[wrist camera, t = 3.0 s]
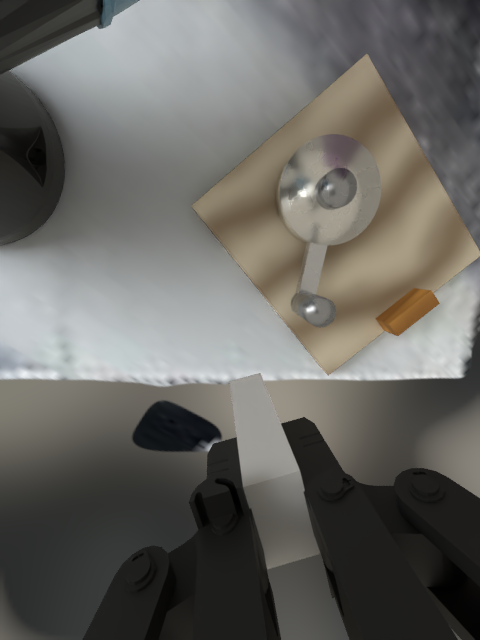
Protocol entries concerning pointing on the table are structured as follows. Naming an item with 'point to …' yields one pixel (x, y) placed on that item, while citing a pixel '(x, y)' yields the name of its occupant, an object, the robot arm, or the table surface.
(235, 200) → the beige flat square
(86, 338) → the table surface
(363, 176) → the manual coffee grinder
